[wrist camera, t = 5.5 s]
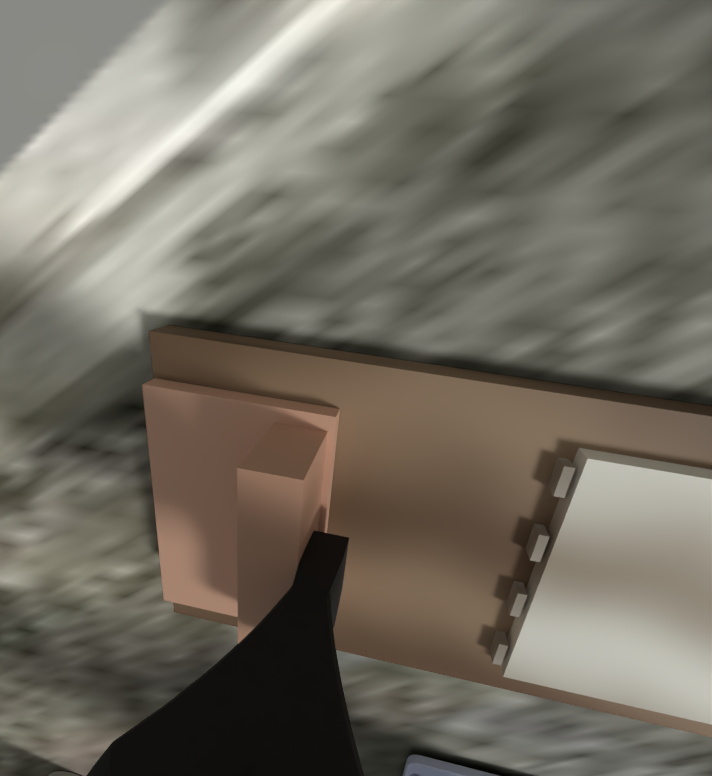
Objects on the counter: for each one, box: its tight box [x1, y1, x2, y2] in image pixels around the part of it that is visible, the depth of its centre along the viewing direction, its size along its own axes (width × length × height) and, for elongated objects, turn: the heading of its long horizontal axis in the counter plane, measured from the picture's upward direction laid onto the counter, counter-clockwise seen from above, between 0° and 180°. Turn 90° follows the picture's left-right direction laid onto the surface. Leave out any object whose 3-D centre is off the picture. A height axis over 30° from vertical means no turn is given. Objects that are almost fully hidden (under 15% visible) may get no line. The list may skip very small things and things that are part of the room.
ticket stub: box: [142, 378, 340, 643], centre depth 12 cm, size 9×6×3 cm, turn 174°
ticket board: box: [149, 325, 712, 737], centre depth 12 cm, size 12×24×2 cm, turn 84°
